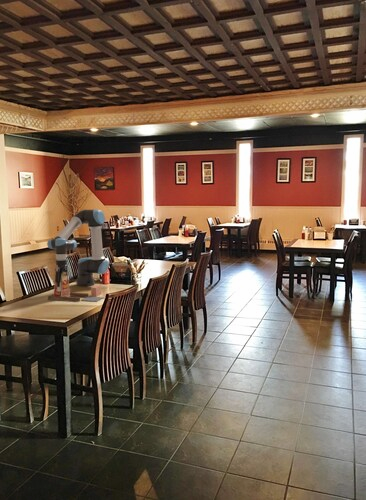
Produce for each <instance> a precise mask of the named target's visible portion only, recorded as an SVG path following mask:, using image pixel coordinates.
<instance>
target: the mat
mask: <svg viewBox="0 0 366 500" xmlns="http://www.w3.org/2000/svg"><path fill="white" fill-rule="evenodd" d="M103 299H104V297H103V296H97V297H91V296H89V295H88V297H83V298H82V299H80V302H92V303H93V302H94V303H95V302H96V303H97V302H100V301H101V300H103Z"/></svg>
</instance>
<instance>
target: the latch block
mask: <svg viewBox="0 0 366 500" xmlns="http://www.w3.org/2000/svg"><path fill="white" fill-rule="evenodd" d="M102 294H103V293H102V284H101V285H100V284H95V285H92V286H91V287H90V297H100V296H101V295H102Z"/></svg>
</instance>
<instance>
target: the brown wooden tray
mask: <svg viewBox="0 0 366 500" xmlns="http://www.w3.org/2000/svg"><path fill="white" fill-rule="evenodd" d="M88 296H89V293H88V292H87V293H83V292H70V296H69V297H62V296H54V293H52V294H49V295H48V296H47V298H48V300H49V301H50V300H51V301H52V300H53V301H68V302H69V301H70V302H71V301H72V302H81V297H82V298H86V297H88Z"/></svg>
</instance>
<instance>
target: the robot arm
mask: <svg viewBox="0 0 366 500" xmlns="http://www.w3.org/2000/svg"><path fill="white" fill-rule="evenodd" d="M105 220H106V216H105V213H104V212H103V211H102V210H101V209H82V210H80V211H78V212H76V213H75V214H74V215H73V216H72V217H71V219H70V221H69V222H68V223H67V224H66V225H65V226H64V228H62V230H61V231H59V233H57V235H56V236H55V237H54V238H50V239H48V241H47V243H46V244H47V248H48V249H50V250H55V259H56V260H55V265H56V266H57V267H56V268H55V274H54V275H55V276H54V283H55V282H57V291H61V282H60V280H61V275H62V273H63V272H66V274H67V276H68V277H69V272H68V263H67V261H68V260H67V252H68V251H73V250H75V249H76V248H77V247H78V243H77V241H76V240H75V239H69V238H70V236H71V235H72V234H73V233H74V232H75V231H76V230H77V229H78V228H79V227H81V226H82V225H85V224H87V226H88V228H89V229H90V240H91V252H92V256H91V257H90V256H89V257H82V258H79V259H78V261H77V271H78V276H77V279H76V286H78V287H90V286H91V287H92V286H95V280H94V276H93V274H98V275H103V274H106V272H107V271H108V269H109V261H108V260H106V257H105V255H104V249H103V238H102V237H103V236H102V228H103V224H104V223H105Z"/></svg>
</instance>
